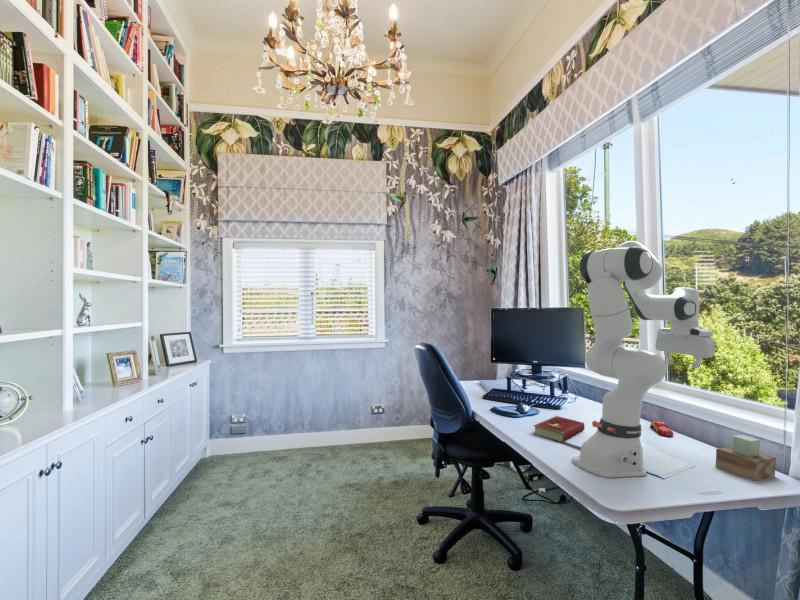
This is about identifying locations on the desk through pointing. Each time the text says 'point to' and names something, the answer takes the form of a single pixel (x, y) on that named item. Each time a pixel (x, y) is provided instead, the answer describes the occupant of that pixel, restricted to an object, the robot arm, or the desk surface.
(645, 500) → the desk surface
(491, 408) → the desk surface
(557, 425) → the hardcover book
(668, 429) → the race car
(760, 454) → the block
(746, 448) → the cube
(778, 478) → the desk surface
